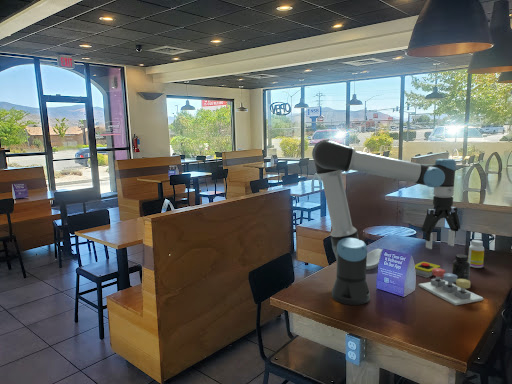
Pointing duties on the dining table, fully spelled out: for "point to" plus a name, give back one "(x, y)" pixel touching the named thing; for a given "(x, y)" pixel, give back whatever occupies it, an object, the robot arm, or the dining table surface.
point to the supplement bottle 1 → (461, 267)
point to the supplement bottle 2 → (476, 254)
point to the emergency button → (425, 269)
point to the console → (450, 292)
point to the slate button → (450, 278)
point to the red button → (438, 273)
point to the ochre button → (463, 284)
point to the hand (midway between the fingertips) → (439, 246)
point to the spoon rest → (373, 259)
